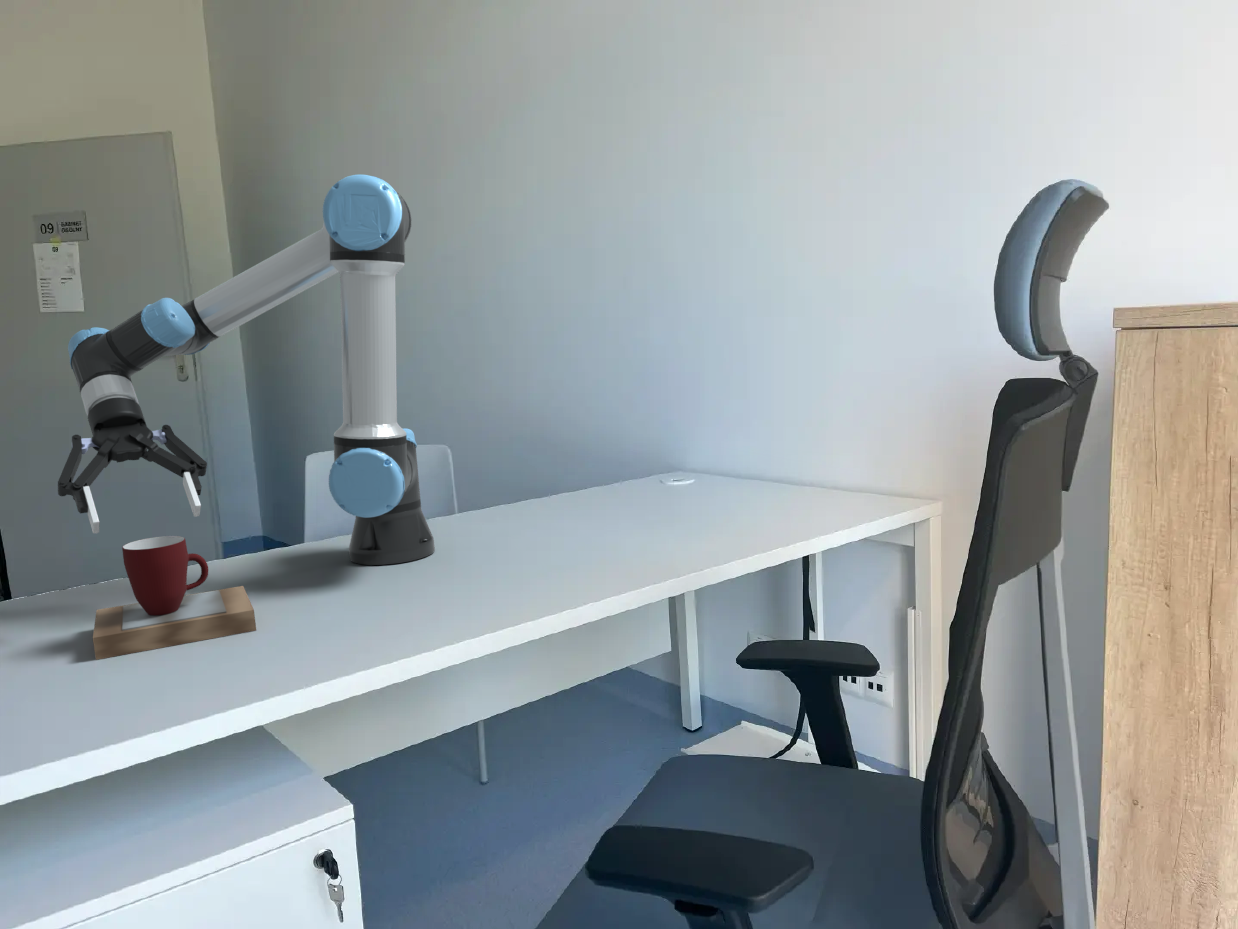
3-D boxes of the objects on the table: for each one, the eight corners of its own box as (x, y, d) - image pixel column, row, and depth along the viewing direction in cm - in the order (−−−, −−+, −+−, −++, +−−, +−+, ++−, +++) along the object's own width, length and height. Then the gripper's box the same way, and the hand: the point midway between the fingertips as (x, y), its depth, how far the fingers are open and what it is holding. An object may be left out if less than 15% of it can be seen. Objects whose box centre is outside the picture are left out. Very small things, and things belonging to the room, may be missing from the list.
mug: (200, 595, 144) (192, 530, 142) (220, 605, 138) (211, 537, 136) (124, 613, 137) (114, 544, 135) (141, 624, 131) (131, 552, 129)
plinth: (245, 604, 149) (242, 584, 149) (256, 630, 136) (253, 608, 135) (99, 629, 140) (96, 608, 140) (95, 659, 127) (92, 636, 127)
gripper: (196, 418, 160) (233, 519, 150) (21, 437, 145) (50, 550, 135) (200, 387, 155) (239, 489, 145) (19, 403, 140) (50, 519, 130)
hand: (148, 519), depth 140 cm, fingers open, 13 cm apart
